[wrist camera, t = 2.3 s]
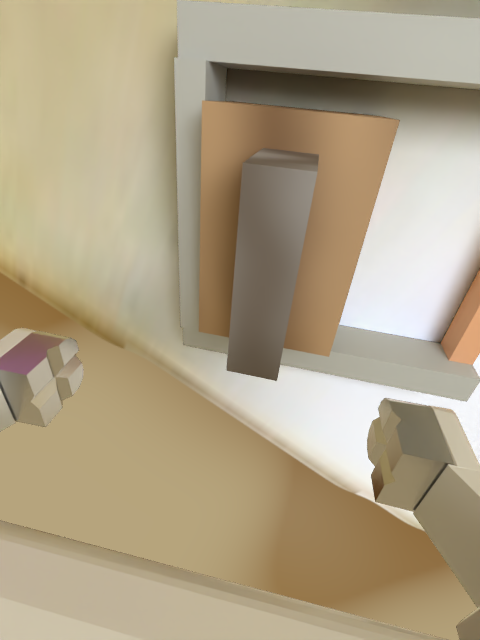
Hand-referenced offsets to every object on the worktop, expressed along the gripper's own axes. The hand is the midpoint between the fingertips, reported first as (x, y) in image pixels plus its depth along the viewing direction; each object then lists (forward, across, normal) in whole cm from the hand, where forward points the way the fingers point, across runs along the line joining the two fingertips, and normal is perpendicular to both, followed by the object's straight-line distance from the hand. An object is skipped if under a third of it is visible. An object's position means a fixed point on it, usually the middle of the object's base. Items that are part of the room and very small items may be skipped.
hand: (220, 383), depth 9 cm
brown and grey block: (+16, -1, 0) cm, 16 cm away
